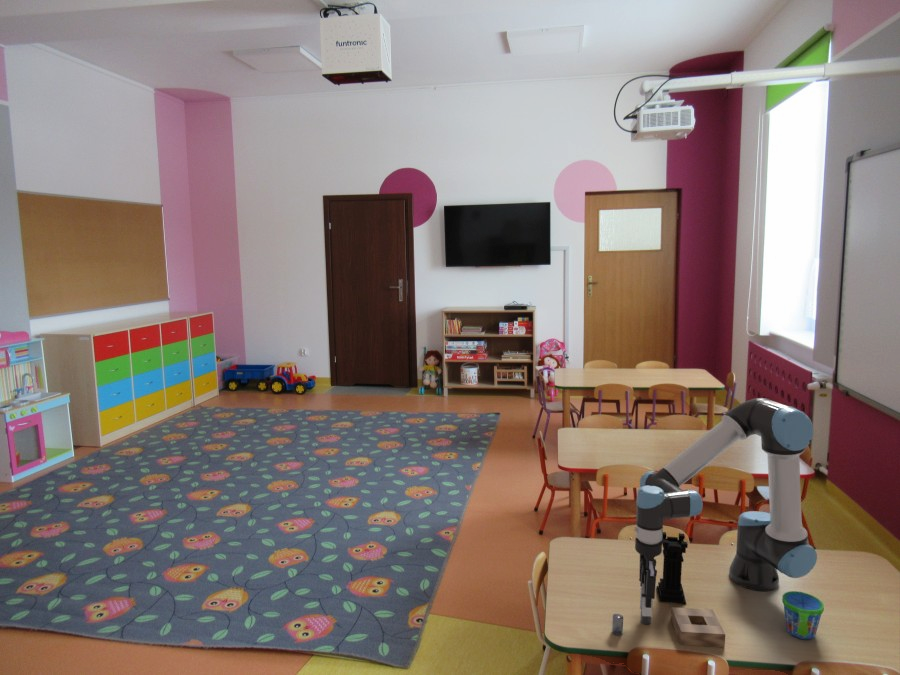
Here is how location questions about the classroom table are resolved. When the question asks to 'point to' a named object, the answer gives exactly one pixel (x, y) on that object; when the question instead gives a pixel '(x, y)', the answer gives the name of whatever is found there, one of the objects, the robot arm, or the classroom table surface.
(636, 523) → the robot arm
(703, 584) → the classroom table surface
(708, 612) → the hole block
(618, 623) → the short pin
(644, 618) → the long pin
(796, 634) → the snack cup
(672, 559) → the chess piece
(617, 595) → the classroom table surface
